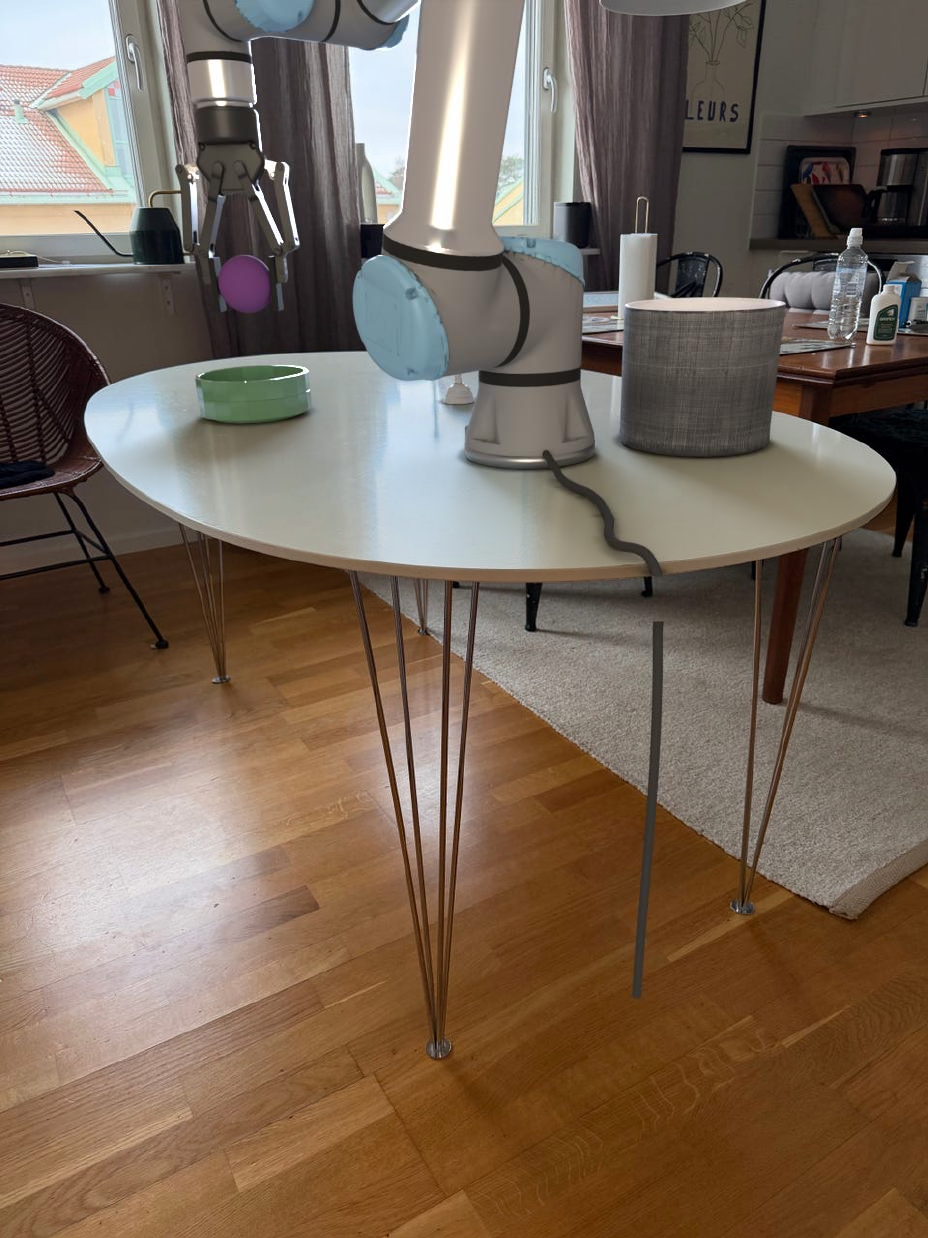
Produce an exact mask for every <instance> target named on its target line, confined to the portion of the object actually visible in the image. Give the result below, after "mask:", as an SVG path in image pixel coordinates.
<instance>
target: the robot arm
mask: <svg viewBox="0 0 928 1238" xmlns="http://www.w3.org/2000/svg"><path fill="white" fill-rule="evenodd" d="M177 4H178V12H179V20H180V24H181V31H182V39H183V45H184V53H185V59H186V67H187V75H188V76H187V77H188V83H189V91H190V99H191V102H192V104H193V105H196V106H197V108H196V109H194V112H193V120H194V128H195V134H196V143H197V156H196V158H195V161H192V162H188V163H186V164H182V163H178V164H176V165H175V167H174V172H175V174H176V177H177V180H178V183H179V185H180V205H181V226H182V227H181V228H182V229H181V231H182V249H183V250H184V251H185V252H186V253H190V254H193V255H196V256H197V257H198V258H199V260H200V261H199V262H200V267H201V274H202V281H203V283H204V285H205V286H206V285H210V287H211V294H212V302H213V308H214V313H215V314H216V313H223V312H226V311H227V303H226V301H225V300H224V299H223V297H222V295H221V293H220V290H219V285H218V278H219V273H220V270H221V268H222V264H221V258H220V256H215V254H216V253H215V252H214V251H215V247H216V241H217V236H218V231H219V227H220V222H221V217H222V211H223V207H224V206H223V205H224V203H225V201H226V197H227V196H231V195H235V194H239V195H245V196H246V198H247V200H248V201H249V203H250V204H251V207H252V209H253V211H254V214H255V216H256V218H257V220H258V223H259V225H260V227H261V229H262V232H263V234H264V236H265V238H266V240H267V243H268V245H269V247H270V250H271V254H272V255H270V256H266V258H267V267H268V269H269V278H270V287H271V296H272V299H271V303H272V304H271V305H272V312H280V311H283V310H284V309H285V307H284V300H283V299H284V298H283V291H282V290H283V289H282V284H286V283H288V279H289V274H288V262H287V256H288V254H289V253H291V252H294V251H295V250H298V249H299V248H300V240H299V234H298V230H297V223H296V219H295V215H294V210H293V209H294V208H293V205H292V200H291V195H290V189H289V185H288V182H289V175H290V166H289V164H288V163H286V162H284V161H273V160H269V159H267V157H266V155H265V154H264V152H263V148H262V140H261V131H260V129H261V128H260V122H259V121H260V120H259V113H258V111H257V110H256V109H254V108H253V106H254V105H256V103H257V94H256V84H255V74H254V65H253V59H252V57H253V56H252V47H251V46H252V45H251V41H252V40H257V39H259V38H268V37H271V38H279V39H285V40H286V39H288V40H294V41H303V42H310V43H311V42H312V43H321V44H327V45H328V44H329V45H334V46H341V47H348V48H356V49H359V50H362V51H367V52H371V51H376V50H380V51H389V50H392V49H394V48H396V47H397V46H398V45H399V44H400V43H401V42H402V41H403V36H404V33H405V32H406V31H407V30H408V26H409V22H410V12H411V11H413V10H414V9H415V8H416V7H418V6H419V16H418V24H417V25H418V27H417V37H416V38H417V39H416V49H415V59H414V71H413V81H412V93H411V102H410V115H409V124H408V125H409V126H408V133H407V134H408V135H407V136H408V137H407V144H406V145H407V146H406V157H405V169H404V176H403V177H404V179H403V188H402V201H401V209H400V210H399V212H398V213H397V214H396V215H395V216H394V217H393V218H391V219H390V220H389V221H388V222H387V223H386V224H385V225H384V226H383V231H382V243H381V244H382V245H381V253H380V254H377V255H376V256H373V257H371V258H370V259H368V260H366V261H364V263H363V264H362V265H361V269H360V270H358V271H357V273H356V275H355V279H354V282H353V287H352V311H353V316H354V317H353V318H354V322H355V325H356V329H357V332H358V334H359V337H360V340H361V342H362V343H363V345H364V347H365V350H366V352H367V354H368V356H369V357H370V358H371V360H372V361H373V362H374V364H375V365H376V366H377V367H378V368H379V369H380V370H381V371H382V372H384V373H385V374H386V375H388V376H390V377H391V378H393V379H396V380H398V381H403V382H415V381H431V382H434V381H438V380H440V379H442V378H447V377H452V376H455V375H458V374H461V375H462V374H468V373H475V372H478V375H477V377H478V379H477V380H478V385H477V386H478V387H477V393H476V397H475V398H474V399H475V401H474V402H473V406H472V410H471V414H470V417H469V420H468V424H467V425H465V426H464V442H463V446H464V456H465V458H466V459H468V460H469V461H471V462H473V463H477V464H479V465H484V466H489V467H493V468H494V467H495V468H502V469H516V470H517V469H520V470H521V469H522V470H523V469H524V470H526V469H528V470H529V469H530V470H531V469H532V470H533V469H549V468H550V470H551V471H552V473H553V475H554V477H555V479H556V480H557V481H558V483H559V484H561V485H562V486H563V487H564V488H566V489H568V490H570V491H572V492H575V493H577V494H579V495H582V496H584V497H586V498H588V500H590V501H591V502H592V503H593V504H595V506H596V507H597V508H598V510H599V511H600V513H601V516H602V518H603V521H604V527H603V536H604V538H605V541H606V543H607V544H608V545H609V546H610V547H611V548H612V549H614V550H616V551H619V552H624V553H630V554H634V555H637V556H639V557H640V558H641V559H642V560H643V561H644V562H645V564H646V565H647V567H648V570H649V572H650V575H651V576H652V577H656V578H661V577H663V576H664V575H663V571H662V569H661V566H660V564H659V561H658V559H657V557H656V556H655V554H654V553H653V552H652V551H651V550H650V549H649V548H648V547H646V546H644V545H642V544H639V543H636V542H631V541H626V540H625V541H624V540H620V539H619V538H618V537H616V534H615V530H614V529H615V517H614V515H613V513H612V511H611V509H610V508H609V505H608V504H607V502H606V501H605V499H603V497H602V496H600V495H599V493H597V492H596V491H595V490H592V489H591V488H589V487H587V486H584V485H582V484H579V483H577V482H574V481H572V479H569V478H568V477H566V476H565V474H564V473H563V472H562V470H561V468H560V467H566V466H570V465H571V466H572V465H574V464H575V465H576V464H578V463H582V462H585V461H587V460H589V459H591V458H592V457H594V455H595V450H596V440H595V432H594V428H593V425H592V421H591V418H590V414H589V411H588V407H587V404H586V401H585V396H584V393H583V390H582V384H581V383H582V382H581V381H582V378H581V377H582V353H583V352H582V351H583V350H582V349H583V346H582V345H583V322H584V320H583V319H584V296H585V295H584V292H585V289H586V281H585V278H584V258H583V254H582V252H581V250H580V248H578V247H577V246H576V245H575V244H573V243H570V242H567V241H563V240H556V239H551V238H550V239H549V238H540V237H528V236H513V235H512V236H511V235H510V236H508V235H499V234H498V232H497V231H496V229H495V228H494V224H493V220H494V219H493V217H494V211H495V205H496V204H495V203H496V198H497V192H498V185H499V179H500V172H501V165H502V158H503V151H504V144H505V137H506V131H507V126H508V125H507V124H508V118H509V110H510V106H511V105H510V104H511V98H512V90H513V85H514V78H515V71H516V64H517V58H518V52H519V51H518V50H519V45H520V38H521V31H522V24H523V18H524V12H525V4H526V0H177ZM266 170H267V172H268V176H269V179H270V180H272V181H273V188H274V189H273V190H274V193H275V199H276V203H277V204H276V205H277V208H278V213H279V218H280V222H281V227H282V228H281V229H282V232H283V237H284V241H283V239H282V237H281V234H280V232H279V230H278V228H277V225H276V223H275V221H274V218H273V217H272V214H271V212H270V210H269V207H268V205H267V202H266V200H265V197H264V194H263V192H262V189H261V187H260V185H259V184H260V183H259V182H260V181H261V179H262V177H263V175H264V173H265V171H266ZM199 173H201V175H202V176H203V177H204V178H205V180H206V181H207V182H208V183H209V187H208V191H207V203H206V209H205V213H204V218H203V222H202V223H203V225H202V229H201V234H200V239H199V221H198V219H199V218H198V192H197V184H196V183H197V182H198V181H199ZM664 623H665V622H664V620H661V621H660V620H659V621H657V620H655V621H654V620H653V621H652V676H651V677H652V682H651V691H652V692H651V716H650V717H651V719H650V720H651V721H650V724H651V725H650V742H649V743H650V744H649V763H648V777H647V778H648V779H647V792H646V793H647V794H646V809H645V822H644V833H643V834H644V835H643V848H642V858H641V871H640V872H641V873H640V883H639V884H640V885H639V896H638V907H637V919H636V934H635V946H634V947H635V948H634V959H633V961H634V963H633V976H632V977H633V979H632V992H631V993H632V995H631V996H632V998H633V999H635V1000H640V999H641V998H642V987H643V974H644V973H643V971H644V959H645V958H644V957H645V947H646V946H645V945H646V933H647V922H648V910H649V898H650V888H651V887H650V886H651V876H652V866H653V865H652V864H653V853H654V852H653V851H654V843H655V828H656V819H657V805H658V790H659V778H660V777H659V776H660V760H661V746H662V745H661V744H662V725H663V724H662V721H663V695H664V693H663V688H664Z"/></svg>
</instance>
